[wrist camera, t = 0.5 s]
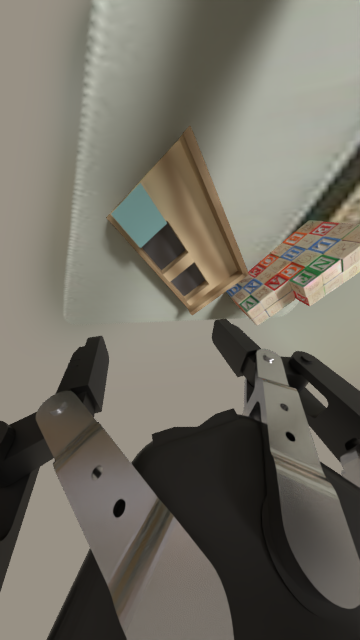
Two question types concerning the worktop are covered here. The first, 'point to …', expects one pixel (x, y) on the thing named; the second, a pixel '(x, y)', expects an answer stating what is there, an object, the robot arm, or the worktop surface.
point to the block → (139, 216)
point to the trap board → (189, 228)
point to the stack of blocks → (300, 269)
